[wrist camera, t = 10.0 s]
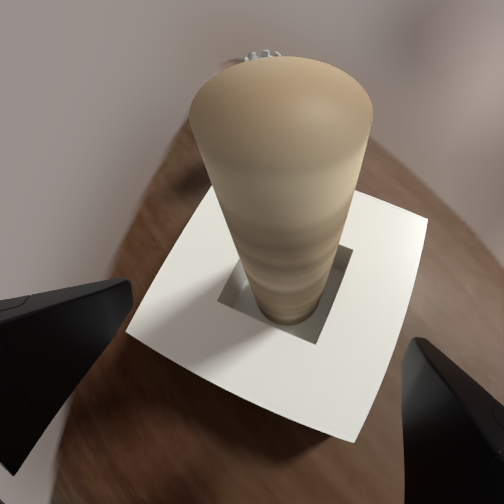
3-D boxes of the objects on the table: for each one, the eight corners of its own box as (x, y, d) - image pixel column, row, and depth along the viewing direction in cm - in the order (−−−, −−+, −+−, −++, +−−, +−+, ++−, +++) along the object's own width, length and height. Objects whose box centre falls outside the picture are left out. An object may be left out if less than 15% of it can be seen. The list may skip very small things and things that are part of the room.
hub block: (339, 431, 14) (353, 443, 11) (156, 343, 18) (125, 331, 14) (406, 250, 18) (428, 219, 15) (243, 189, 22) (234, 152, 18)
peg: (320, 325, 16) (393, 169, 4) (254, 325, 17) (173, 174, 5) (318, 263, 18) (352, 58, 6) (256, 264, 18) (203, 62, 6)
